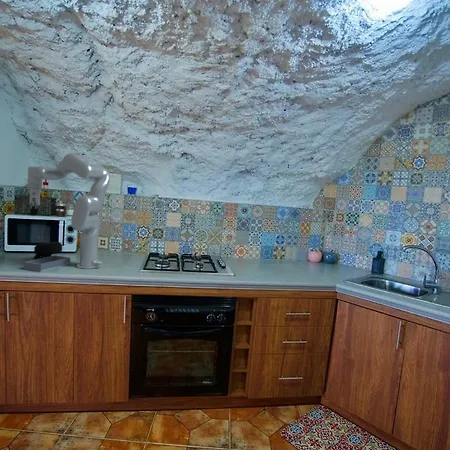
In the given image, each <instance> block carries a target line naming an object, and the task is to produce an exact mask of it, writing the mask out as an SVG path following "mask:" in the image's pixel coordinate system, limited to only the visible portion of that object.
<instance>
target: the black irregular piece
mask: <svg viewBox="0 0 450 450" xmlns="http://www.w3.org/2000/svg"><path fill="white" fill-rule="evenodd" d="M33 249H34V250H33V252H34V257H33V259H32V260H36V259H40V258H45V257H50V256H53V255H55V254H56V255H57V254H61V252H63V244H62V243H61V241H59V242H58V241H51V242H46V243H45V242H44V243H38V244H35V246H34V247H33Z"/></svg>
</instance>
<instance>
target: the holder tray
mask: <svg viewBox="0 0 450 450" xmlns="http://www.w3.org/2000/svg"><path fill="white" fill-rule="evenodd" d="M70 264H71V257H69V256H61V255H55V254H53V255H52V256H50V257H45V258H44V257H43V258H40V259H36V260H33V259H32V260H27V261H23V270H26V271H33V272H39V273H42V272H46V271H50V270H52V269H57V268H60V267H64V266H68V265H70Z"/></svg>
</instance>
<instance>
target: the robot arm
mask: <svg viewBox="0 0 450 450" xmlns="http://www.w3.org/2000/svg"><path fill="white" fill-rule="evenodd" d="M57 165H58V166H56V167H48V166H28V167H27V168H28V169H27V190H29V205H30V216H37V215H38V214H39V206H41V191H42V190H43V180H48V181H56V180H61V179H64V178H66V177H67V176H68V175H70V174H75V175H77V176H78V177H80V178H82V179H84V180H85V179H86V180H94V182H93V184H92V185H91V187H90V191H89V193H88V195H81V196H79V197H78V198H77V199H76V202H75V203H74V208H73V211H72V215H71V220H70V223H71V224H70V225H71V227H72V229H73V230H75V231H77V232H81V231H82V232H81V235H80V247H79V252H80V253H79V263H77V264H76V267H77V268H79V269H89V270H90V269H92V270H93V269H97V268H100V267H101V266H102V265H103V261H100V258H98V257H99V256H98V251H99V235H100V229H101V228H100V227H101V224H102V223H101V217H99V215H97V214H95V213H97V212H98V213H99V212H101V210H103V209H102V208H103V205H104V202H105V198H106V194H107V190H108V188H109V185H110V181H111V179H110V178H111V177H110V172H109V171H108V170H107V169H106V168H105V167H104V166H102V165H98V164H95V163H94V164H93V163H89V160H88V158H87V157H86V156H84V155H82V154H81V155H80V154H76V153H66V154H65V155H64V157H63V159H62V160H60V161H59V162H58V164H57Z"/></svg>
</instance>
